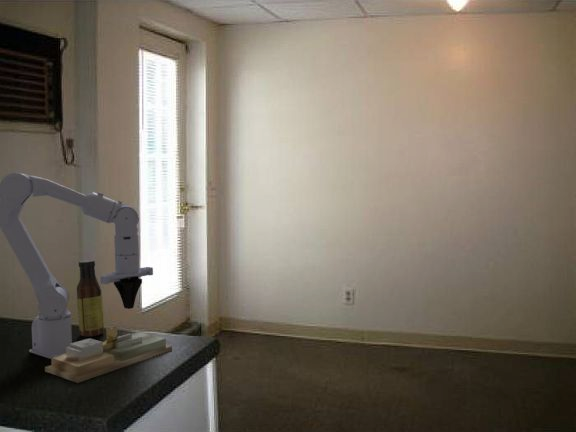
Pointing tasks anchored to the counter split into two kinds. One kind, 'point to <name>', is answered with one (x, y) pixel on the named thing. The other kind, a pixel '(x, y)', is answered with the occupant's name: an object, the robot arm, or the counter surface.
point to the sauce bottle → (89, 301)
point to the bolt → (110, 338)
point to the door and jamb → (108, 359)
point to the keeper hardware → (96, 347)
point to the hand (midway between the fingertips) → (128, 307)
